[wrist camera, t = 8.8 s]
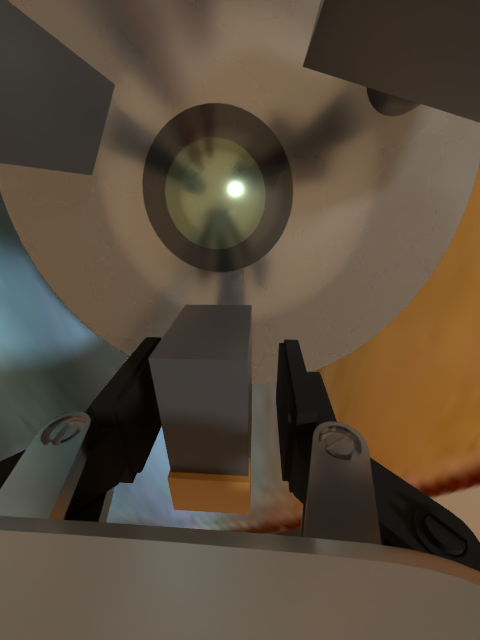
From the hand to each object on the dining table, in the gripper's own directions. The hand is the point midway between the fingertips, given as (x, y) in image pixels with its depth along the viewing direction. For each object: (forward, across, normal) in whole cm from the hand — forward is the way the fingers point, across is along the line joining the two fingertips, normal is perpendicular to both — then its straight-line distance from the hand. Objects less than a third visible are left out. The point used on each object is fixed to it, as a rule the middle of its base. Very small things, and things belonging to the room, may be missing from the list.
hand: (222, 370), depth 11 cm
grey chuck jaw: (+2, 0, 0) cm, 2 cm away
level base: (+4, 0, -6) cm, 8 cm away
